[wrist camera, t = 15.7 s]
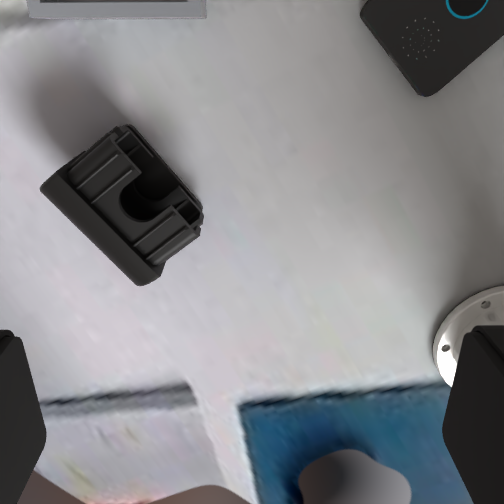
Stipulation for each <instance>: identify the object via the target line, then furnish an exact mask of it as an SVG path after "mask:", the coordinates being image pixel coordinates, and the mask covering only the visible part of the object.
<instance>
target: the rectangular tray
mask: <svg viewBox="0 0 504 504" xmlns="http://www.w3.org/2000/svg"><path fill="white" fill-rule="evenodd" d="M26 1H27V6H28V11H29V16H30V18H44V19H206V0H26Z"/></svg>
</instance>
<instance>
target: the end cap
mask: <svg viewBox="0 0 504 504" xmlns="http://www.w3.org/2000/svg"><path fill="white" fill-rule="evenodd" d="M40 191H41V192H42V193H43V194H44V195H45V196H46V197H47V198H48V199H49V200H50V201H51V202H52V203H53V204H54V205H55V206H56V207H57V208H58V209H59V210H60V211H61V212H62V213H63V214H64V215H65V216H66V217H67V218H68V219H69V220H70V221H71V222H72V223H73V224H74V225H75V226H76V227H77V228H78V229H79V230H80V231H81V232H82V233H83V234H85V235H86V236H87V237H88V238H89V239H90V240H91V241H92V242H93V243H94V244H95V245H96V246H97V247H98V248H99V249H100V250H101V251H102V252H103V253H104V254H105V255H106V256H107V257H108V258H109V259H110V260H111V261H112V262H113V263H114V264H115V265H116V266H117V267H118V268H119V269H120V270H121V271H122V272H123V273H124V274H125V275H126V276H127V277H128V278H129V279H130V280H131V281H132V282H133V283H134V284H136V285H137V286H144V285H147V284H149V283H151V282H153V281H154V280H156V279H157V278H159V277H160V276H161V274H162V271H163V268H164V265H165V263H166V261H167V260H168V259H169V258H171V257H172V256H173V255H175V254H176V253H177V252H179V251H180V250H181V249H183V248H184V247H185V246H187V245H188V244H189V243H191V242H192V241H193V240H195V239H196V238H198V237H199V236H200V231H201V228H200V227H199V226H201V225H202V224H203V218H204V215H203V213H202V209H203V207H202V205H201V203H200V202H199V201H198V200H197V199H196V198H195V196H194V195H193V194H192V193H191V192H190V191H189V190H188V188H187V187H186V186H185V185H184V184H183V183H182V181H181V180H180V179H179V178H178V177H177V176H176V175H175V173H174V172H173V171H172V170H171V169H170V168H169V167H168V165H167V164H166V163H165V162H164V161H163V160H162V159H161V157H160V156H159V155H158V154H157V153H156V152H155V150H154V149H153V148H152V147H151V146H150V145H149V144H148V142H147V141H146V140H145V139H144V138H143V137H142V136H141V134H140V133H139V132H138V131H137V130H136V129H135V128H134V127H133V126H132V125H128V124H127V125H123V126H122V127H115V128H114V129H113V130H112V131H111V132H109V133H107V134H106V135H104V136H103V137H102V138H101V139H100V140H99V141H98V142H96V143H95V144H94V145H93V146H92V147H91V148H90V149H88V150H87V151H83V152H82V153H81V154H79V155H78V156H77V157H75V158H74V159H72V160H71V161H70V162H68V163H67V164H66V165H64V166H63V167H61V168H60V169H59V170H57V171H56V172H55V173H54V174H53V175H52V176H51V177H50V178H48V179H47V180H46V181H45V182H44V183H43V184H42V185H41V187H40Z"/></svg>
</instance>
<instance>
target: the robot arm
mask: <svg viewBox="0 0 504 504" xmlns="http://www.w3.org/2000/svg"><path fill="white" fill-rule="evenodd" d="M433 358H434V362H435V365H436V367H437V369H438V371H439V373H440V375H441V376H442V378H443V379H444V381H445V382H446V383H447V384H448V385H449V386H451V392H450V396H449V400H448V404H447V409H446V413H445V417H444V421H443V427H442V433H443V439H444V442H445V445H446V447H447V449H448V451H449V453H450V455H451V457H452V459H453V461H454V463H455V465H456V467H457V470H458V472H459V474H460V476H461V478H462V480H463V482H464V484H465V486H466V488H467V490H468V492H469V494H470V497H471V499H472V501H473V503H474V504H504V286H499V287H494V288H491V289H488V290H485V291H482V292H480V293H478V294H476V295H474V296H472V297H470V298H468V299H467V300H465V301H464V302H462V303H461V304H459V305H458V306H457V307H456V308H455V309H454V310H453V311H452V312H451V313H450V314H449V315H448V316H447V317H446V319H445V320H444V321H443V323H442V324H441V326H440V328H439V330H438V332H437V334H436V336H435V340H434V344H433ZM45 442H46V428H45V424H44V420H43V417H42V413H41V409H40V405H39V402H38V398H37V394H36V390H35V387H34V383H33V379H32V376H31V372H30V368H29V364H28V361H27V357H26V353H25V349H24V346H23V342H22V340H21V339H20V337H15V336H14V334H13V333H12V332H11V331H10V330H0V504H17V502H18V500H19V498H20V496H21V494H22V491H23V490H24V488H25V485H26V483H27V481H28V479H29V477H30V475H31V473H32V471H33V469H34V467H35V465H36V463H37V461H38V459H39V457H40V455H41V453H42V451H43V449H44V446H45Z"/></svg>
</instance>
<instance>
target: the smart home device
mask: <svg viewBox="0 0 504 504" xmlns="http://www.w3.org/2000/svg"><path fill="white" fill-rule="evenodd" d="M360 17H361V19H362V20H363V22H364V23H365V24H366V26H367V27H368V28H369V30H370V31H371V32H372V34H373V35H374V36H375V38H376V39H377V40H378V42H379V43H380V44H381V46H382V47H383V48H384V50H385V51H386V52H387V54H388V55H389V57H390V58H391V59H392V61H393V62H394V63H395V65H396V66H397V67H398V68H399V70H400V71H401V72H402V74H403V75H404V76H405V78H406V79H407V80H408V82H409V83H410V84H411V86H412V87H413V88H414V90H415V91H416V92H417V94H419V95H421V96H424V97H428V96H431V95H433V94H435V93H436V92H438V91H439V90H440V89H442V88H443V87H444V86H445V85H446V84H447V83H449V82H450V81H451V80H452V79H453V78H454V77H455V76H457V75H458V74H459V73H460V72H461V71H462V70H464V69H465V68H466V67H467V66H468V65H469V64H471V63H472V62H473V61H474V60H475V59H476V58H478V57H479V56H480V55H481V54H482V53H483V52H485V51H486V50H487V49H488V48H489V47H490V46H491V45H493V44H494V43H495V42H496V41H497V40H498V39H500V38H501V37H502V36H503V35H504V0H368V1H367V3H366V4H365V5H364V7H363V8H362V10H361V13H360Z"/></svg>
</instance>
